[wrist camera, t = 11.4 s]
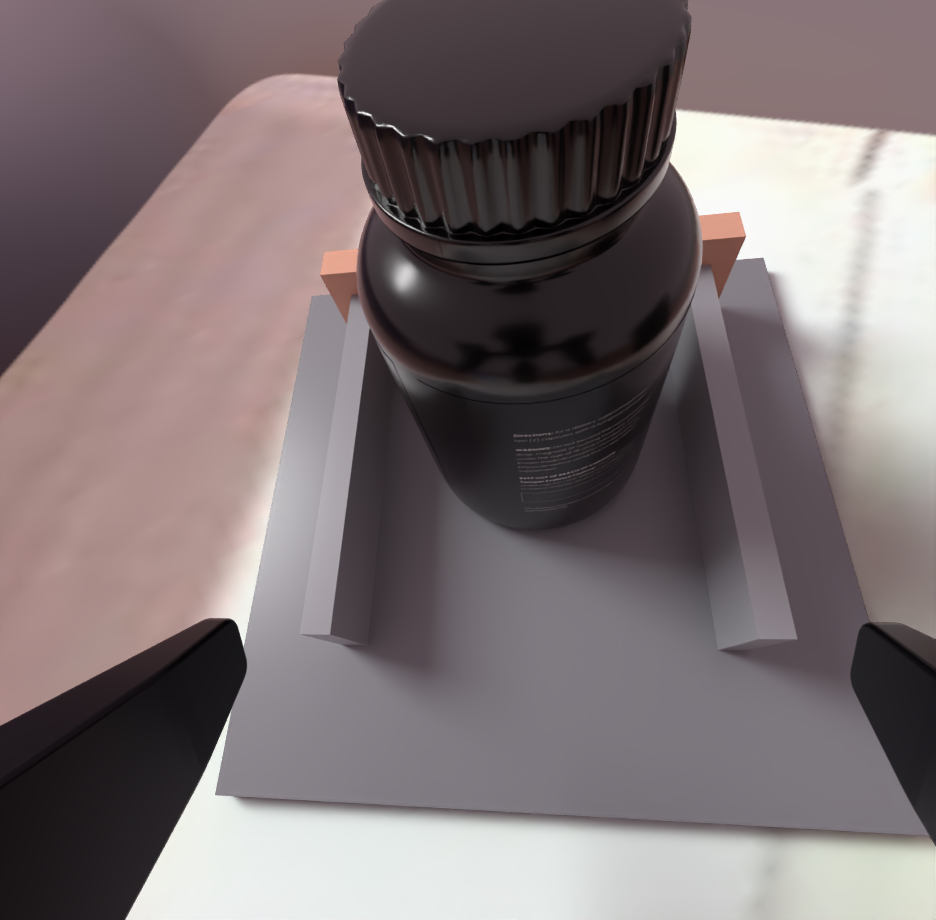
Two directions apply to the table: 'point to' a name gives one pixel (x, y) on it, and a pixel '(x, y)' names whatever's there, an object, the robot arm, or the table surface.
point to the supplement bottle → (524, 236)
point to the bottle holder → (565, 603)
